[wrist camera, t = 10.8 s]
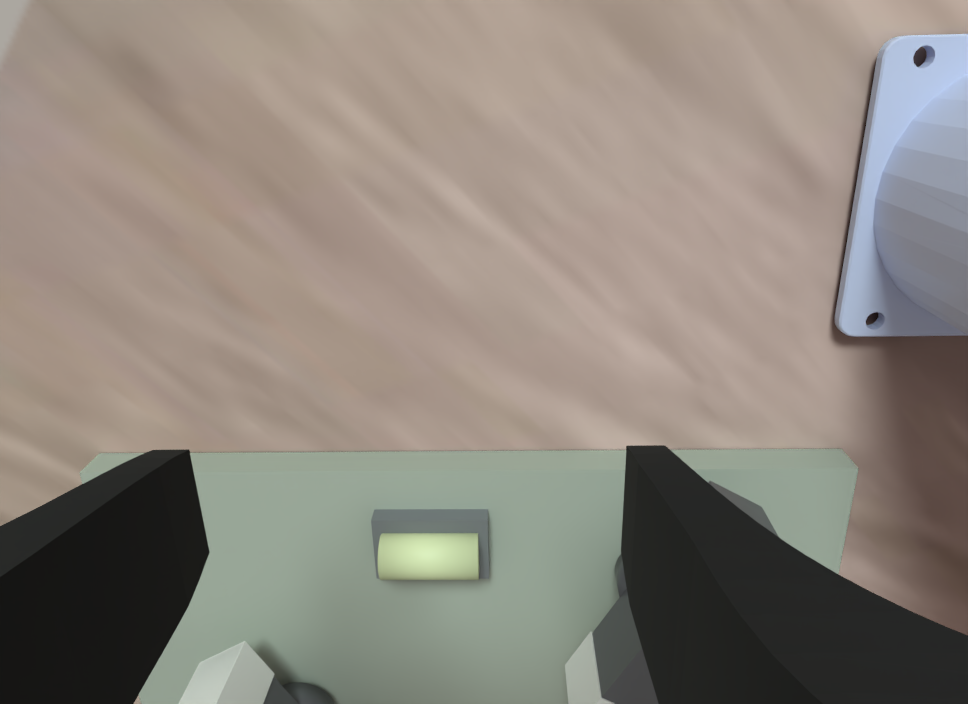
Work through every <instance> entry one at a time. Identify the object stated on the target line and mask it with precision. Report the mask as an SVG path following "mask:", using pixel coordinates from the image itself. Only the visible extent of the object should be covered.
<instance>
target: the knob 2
mask: <svg viewBox="0 0 968 704" xmlns="http://www.w3.org/2000/svg"><path fill="white" fill-rule="evenodd" d="M708 483H709V484H710V485H711V486H713V487H714V488H715V489H716V490H717V491H718V492H720V493H721V494H722V495H723V496H725V497H726V498H727V499H728V500H729V501H731V502H732V503H733V504H734V505H736V506H737V507H738V508H740V509H741V510H742V511H743V512H745V513H746V514H747V515H749V516H750V517H751V518H753V519H754V520H755V521H757V522H758V523H759V524H761V525H762V526H764V527H765V528H766V529H768V530H769V531H771V532H772V533H774V534H775V535H776V536H778V534H777V533H776V531H775V529H774V527H773V526H772V524H771V522H770V520H769V519H768V517H767V515H766V513H765V512H764V510H763V508H762V507H761V506H759V505H757V504H755V503H753V502H752V501H750V500H748V499H746V498H744V497H742V496H740V495H738V494H736V493H734V492H732V491H730V490H728V489H726V488H724V487H722V486H720V485H718V484H716V483H714V482H712V481H709V482H708ZM778 537H779V536H778ZM615 578H616V583H617V587H618V592H619V597H620V598H619V599H618V600H617V601H616V603H615V604H614V605H613V607H612V608H611V609H610V611H609V612H608V613H607V614H606V616H605V617H604V618H603V620H602V621H601V622H600V624H599V625H598V626H597V627H596V629H595V630H594V631H593V632H590V633H589V634H588V635H587V637H586V638H585V639H584V641H583V642H582V643H581V645H580V646H579V647H578V648H577V650H576V651H575V652H574V654H573V655H572V656H571V658H570V659H569V660H568V661H567V663H566V664H565V673H566V684H567V694H568V704H659V703H658V700H657V697H656V693H655V690H654V686H653V683H652V680H651V676H650V673H649V670H648V666H647V663H646V660H645V656H644V653H643V650H642V646H641V643H640V639H639V636H638V633H637V629H636V626H635V622H634V619H633V615H632V612H631V608H630V605H629V599H628V593H627V587H626V581H625V575H624V568H623V561H622V555H621V554H620V556H619V558H618V559H617V562H616V565H615Z"/></svg>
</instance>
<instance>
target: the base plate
mask: <svg viewBox="0 0 968 704" xmlns="http://www.w3.org/2000/svg"><path fill="white" fill-rule="evenodd" d="M671 451H672V452H673V453H674V454H676V455H677V456H678V457H679V458H680V459H681V460H682V461H684V462H685V463H686V464H687V465H688V466H689V467H690V468H692V469H693V470H694V471H695V472H696V473H697V474H699V475H700V476H701V477H702V478H703V479H704V480H705V481H707V482H709V481H712V482H714V483H716V484H718V485H720V486H722V487H724V488H726V489H728V490H730V491H732V492H734V493H736V494H738V495H740V496H742V497H744V498H746V499H748V500H750V501H752V502H753V503H755V504H757V505H759V506H761V507H762V508H763V510H764V512H765V513H766V515H767V517H768V519H769V520H770V522H771V524H772V526H773V527H774V529H775V531H776V533H777V534H778V536H779V538H781V539H782V540H783V541H785V542H786V543H788V544H789V545H791V546H792V547H794V548H795V549H797V550H799V551H800V552H802V553H803V554H805V555H806V556H808V557H810V558H812V559H813V560H815V561H817V562H818V563H820V564H822V565H823V566H825V567H827V568H828V569H830V570H832V571H833V572H835V573H837V574H838V573H839V568H840V563H841V558H842V552H843V547H844V542H845V537H846V531H847V526H848V521H849V516H850V511H851V505H852V500H853V495H854V490H855V484H856V479H857V474H858V469H859V468H858V467H857V466H856V465H855V464H854V463H853V461H852V460H851V459H850V458H849V457H848V456H847V455H846V453H845V452H844V451H843V450H842V449H731V450H671ZM142 454H144V453H99V454H98V455H97V456H96V457H95V458H94V459H93V460H92V461H91V462H90V463H89V464H88V465H87V466H86V467H85V468H84V469H83V470H82V471H81V472H80V476H81V480H82V484H84V483H86V482H88V481H89V480H91V479H93V478H95V477H97V476H99V475H101V474H103V473H105V472H107V471H108V470H110V469H112V468H114V467H116V466H118V465H120V464H122V463H124V462H126V461H128V460H131V459H133V458H135V457H137V456H139V455H142ZM190 456H191V461H192V466H193V471H194V476H195V481H196V486H197V491H198V496H199V502H200V507H201V512H202V517H203V522H204V527H205V532H206V537H207V542H208V547H209V552H210V553H209V555H208V558H207V561H206V564H205V566H204V569H203V572H202V574H201V577H200V580H199V582H198V585H197V587H196V590H195V592H194V594H193V597H192V599H191V602H190V604H189V606H188V608H187V610H186V612H185V614H184V615H183V617H182V619H181V621H180V623H179V625H178V626H177V628H176V630H175V632H174V633H173V635H172V637H171V639H170V641H169V642H168V644H167V646H166V648H165V649H164V651H163V653H162V655H161V656H160V658H159V660H158V662H157V663H156V665H155V667H154V669H153V670H152V672H151V674H150V675H149V677H148V679H147V681H146V682H145V684H144V686H143V688H142V689H141V691H140V693H139V697H140V701H141V704H179V702H180V700H181V698H182V696H183V694H184V692H185V690H186V688H187V686H188V684H189V682H190V680H191V678H192V676H193V674H194V672H195V671H196V669H197V667H198V665H199V663H200V662H202V661H204V660H206V659H208V658H210V657H212V656H214V655H216V654H219V653H221V652H223V651H225V650H227V649H229V648H231V647H233V646H235V645H237V644H239V643H241V642H243V641H246V642H247V644H248V645H249V646H250V647H251V648H252V649H253V650H254V651H255V652H256V654H257V655H258V656H259V657H260V658H261V659H262V660H263V661H264V662H265V664H266V665H267V666H268V667H269V668H270V669H271V670H272V671H273V673H274V677H275V678H276V679H277V681H278V682H279V683H280V684H281V685H284V684H288V683H293V682H302V683H308V684H312V685H314V686H317V687H319V688H321V689H322V690H324V691H325V692H326V693H327V694H328V695H329V696H330V697H331V699H332V700H333V702H334V704H568V694H567V684H566V673H565V664H566V663H567V661H568V660H569V659H570V658H571V656H572V655H573V654H574V652H575V651H576V650H577V648H578V647H579V646H580V645H581V643H582V642H583V641H584V639H585V638H586V637H587V635H588V634H589V633H590V632H593V631H594V630H595V629H596V627H597V626H598V625H599V624H600V622H601V621H602V620H603V618H604V617H605V616H606V614H607V613H608V612H609V611H610V609H611V608H612V607H613V605H614V604H615V603H616V601H617V600H618V599H619V598H620V597H619V592H618V587H617V583H616V578H615V565H616V562H617V559H618V558H619V556H620V554H621V539H622V521H623V502H624V484H625V465H626V450H572V451H412V452H253V453H190Z"/></svg>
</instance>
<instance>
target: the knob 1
mask: <svg viewBox="0 0 968 704" xmlns="http://www.w3.org/2000/svg"><path fill="white" fill-rule="evenodd" d="M179 704H334V702H333V700H332V699H331V697H330V696H329V695H328V694H327V693H326V692H325V691H324V690H322V689H321V688H319V687H317V686H314V685H312V684H308V683H302V682H293V683H288V684H284V685H281V684H280V683H279V682H278V681H277V679H276V678H275V677H274V673H273V671H272V670H271V669H270V668H269V667H268V666H267V665H266V664H265V662H264V661H263V660H262V659H261V658H260V657H259V656H258V655H257V654H256V652H255V651H254V650H253V649H252V648H251V647H250V646H249V645H248V644H247V642H246V641H243V642H241V643H239V644H237V645H235V646H233V647H231V648H229V649H227V650H225V651H223V652H221V653H219V654H216V655H214V656H212V657H210V658H208V659H206V660H204V661H202V662H200V663H199V665H198V667H197V669H196V671H195V672H194V674H193V676H192V678H191V680H190V682H189V684H188V686H187V688H186V690H185V692H184V694H183V696H182V698H181V700H180V702H179Z"/></svg>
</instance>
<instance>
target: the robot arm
mask: <svg viewBox="0 0 968 704" xmlns="http://www.w3.org/2000/svg"><path fill="white" fill-rule="evenodd" d="M921 46H922V47H924V48H925V50H926V53H927V57H926V59H925V62H924V63H923V64H922V65H921V66H920V67H917V66H916V65H915V64H914V60H913V56H914V54H915V52H916V51H917V50H918V49H919V48H920V47H921ZM875 312H878V318H877V320H876V321H875V322H874V323H873V324H870V325H866V319H867V317H868V316H869V315H870V314H872V313H875ZM835 324H836V326H837V328H838V329H839V330H840V331H841V332H843V333H844V334H846V335H847V336H852V337H883V336H966V335H968V34H946V35H910V36H898V37H894V38H892V39H890V40H889V41H887V42H886V43H885V44H884V45H883V46H882V48H881V49H880V51H879V53H878V56H877V61H876V67H875V73H874V79H873V85H872V91H871V97H870V104H869V110H868V116H867V122H866V128H865V134H864V140H863V146H862V153H861V159H860V165H859V171H858V177H857V183H856V189H855V196H854V202H853V208H852V214H851V220H850V226H849V232H848V239H847V245H846V251H845V257H844V263H843V269H842V275H841V282H840V288H839V294H838V300H837V306H836V312H835ZM209 553H210V552H209V547H208V542H207V537H206V532H205V527H204V522H203V517H202V512H201V507H200V502H199V496H198V491H197V486H196V481H195V476H194V471H193V466H192V461H191V456H190V451H189V450H152V451H149V452H147V453H144V454H142V455H139V456H137V457H135V458H133V459H131V460H128V461H126V462H124V463H122V464H120V465H118V466H116V467H114V468H112V469H110V470H108V471H107V472H105V473H103V474H101V475H99V476H97V477H95V478H93V479H91V480H89V481H88V482H86V483H84V484H82V485H80V486H78V487H76V488H74V489H72V490H71V491H69V492H67V493H65V494H63V495H61V496H59V497H57V498H55V499H54V500H52V501H50V502H48V503H46V504H44V505H42V506H40V507H38V508H36V509H34V510H32V511H30V512H28V513H26V514H24V515H22V516H20V517H18V518H16V519H14V520H12V521H10V522H8V523H6V524H4V525H2V526H0V704H133V703H134V702H135V700H136V698H137V696H138V695H139V693H140V691H141V689H142V688H143V686H144V684H145V682H146V681H147V679H148V677H149V675H150V674H151V672H152V670H153V669H154V667H155V665H156V663H157V662H158V660H159V658H160V656H161V655H162V653H163V651H164V649H165V648H166V646H167V644H168V642H169V641H170V639H171V637H172V635H173V633H174V632H175V630H176V628H177V626H178V625H179V623H180V621H181V619H182V617H183V615H184V614H185V612H186V610H187V608H188V606H189V604H190V602H191V599H192V597H193V594H194V592H195V590H196V587H197V585H198V582H199V580H200V577H201V574H202V572H203V569H204V566H205V564H206V561H207V558H208V555H209ZM621 555H622V561H623V568H624V575H625V581H626V587H627V593H628V599H629V605H630V608H631V612H632V615H633V619H634V622H635V626H636V629H637V633H638V636H639V639H640V643H641V646H642V650H643V653H644V656H645V660H646V663H647V666H648V670H649V673H650V676H651V680H652V683H653V686H654V690H655V693H656V697H657V700H658V703H659V704H968V636H967V635H965V634H962V633H960V632H957V631H955V630H952V629H950V628H947V627H945V626H943V625H940V624H938V623H936V622H934V621H931V620H929V619H927V618H924V617H922V616H920V615H918V614H915V613H913V612H911V611H909V610H907V609H905V608H903V607H901V606H899V605H897V604H895V603H893V602H890V601H888V600H886V599H884V598H882V597H880V596H878V595H876V594H874V593H872V592H870V591H868V590H866V589H864V588H862V587H860V586H859V585H857V584H855V583H853V582H851V581H849V580H847V579H846V578H844V577H842V576H840V575H838V574H837V573H835V572H833V571H832V570H830V569H828V568H827V567H825V566H823V565H822V564H820V563H818V562H817V561H815V560H813V559H812V558H810V557H808V556H806V555H805V554H803V553H802V552H800V551H799V550H797V549H795V548H794V547H792V546H791V545H789V544H788V543H786V542H785V541H783V540H782V539H781V538H779V537H778V536H776V535H775V534H774V533H772V532H771V531H769V530H768V529H766V528H765V527H764V526H762V525H761V524H759V523H758V522H757V521H755V520H754V519H753V518H751V517H750V516H749V515H747V514H746V513H745V512H743V511H742V510H741V509H740V508H738V507H737V506H736V505H734V504H733V503H732V502H731V501H729V500H728V499H727V498H726V497H725V496H723V495H722V494H721V493H720V492H718V491H717V490H716V489H715V488H714V487H713V486H711V485H710V484H709V483H708V482H707V481H705V480H704V479H703V478H702V477H701V476H700V475H699V474H697V473H696V472H695V471H694V470H693V469H692V468H690V467H689V466H688V465H687V464H686V463H685V462H684V461H682V460H681V459H680V458H679V457H678V456H677V455H676V454H674V453H673V452H672V451H671V450H670V449H668V448H667V447H666V446H627V447H626V465H625V484H624V502H623V521H622V539H621Z"/></svg>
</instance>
